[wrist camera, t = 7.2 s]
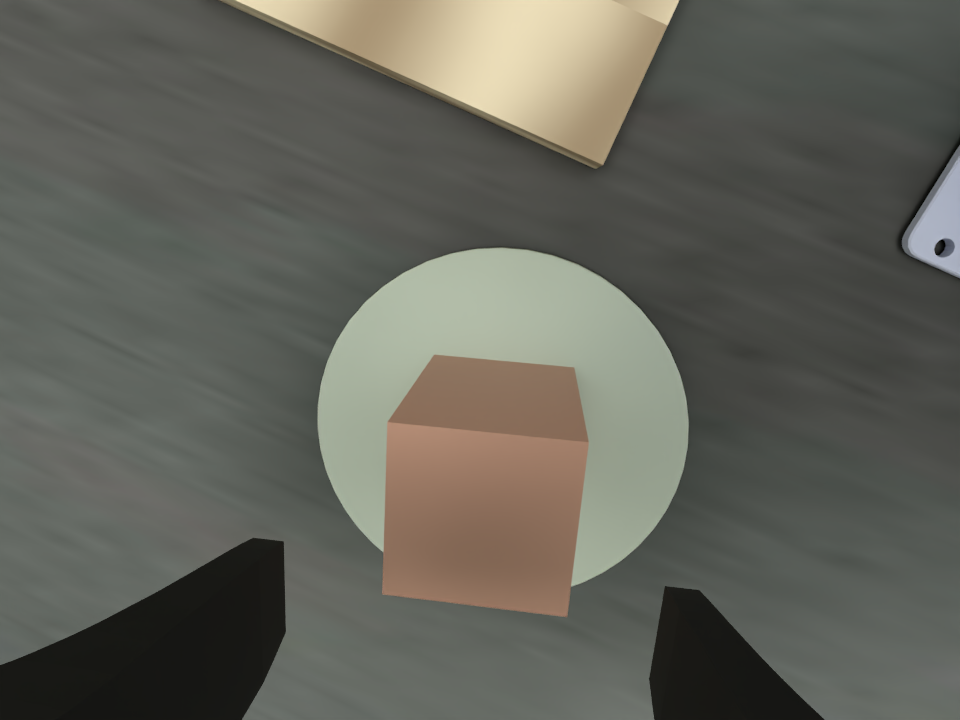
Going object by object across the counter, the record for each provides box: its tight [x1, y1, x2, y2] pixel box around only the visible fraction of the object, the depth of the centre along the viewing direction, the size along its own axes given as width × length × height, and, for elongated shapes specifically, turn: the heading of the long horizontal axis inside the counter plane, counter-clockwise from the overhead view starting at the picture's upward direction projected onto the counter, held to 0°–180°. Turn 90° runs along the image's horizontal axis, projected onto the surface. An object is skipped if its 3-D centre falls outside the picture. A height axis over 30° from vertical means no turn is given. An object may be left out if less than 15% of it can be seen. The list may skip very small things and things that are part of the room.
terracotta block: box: [382, 355, 589, 617], centre depth 17 cm, size 4×4×6 cm
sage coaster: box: [318, 247, 689, 586], centre depth 20 cm, size 12×12×1 cm
